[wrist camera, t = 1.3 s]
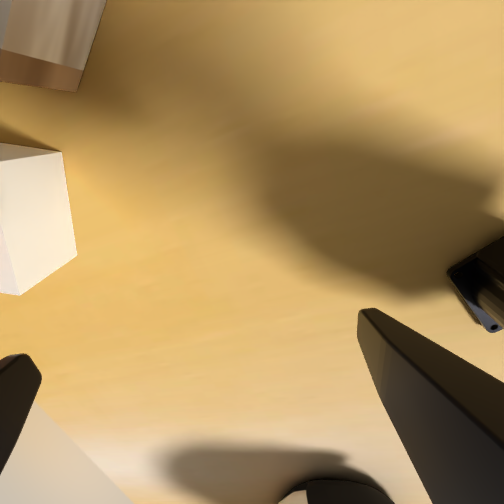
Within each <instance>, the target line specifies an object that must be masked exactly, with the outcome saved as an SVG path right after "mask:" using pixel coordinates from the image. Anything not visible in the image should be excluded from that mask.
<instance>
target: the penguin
mask: <svg viewBox="0 0 504 504" xmlns="http://www.w3.org/2000/svg"><path fill="white" fill-rule="evenodd" d="M278 504H395V503H394V502H393V501H391V500H390V499H389V498H388V497H387V496H385V495H384V494H382V493H381V492H379V491H378V490H377V489H375V488H372V487H369V486H366V485H364V484H360V483H355V482H351V481H334V480H322V479H321V480H315V481H309V482H306V483H303V484H301V485H298V486H295V487H294V488H293V489H292V490H291V491H290V492H289V493H287V494H286V496H285V497H284V498H283V499H282V500H281V502H279V503H278Z"/></svg>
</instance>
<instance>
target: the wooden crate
mask: <svg viewBox="0 0 504 504" xmlns="http://www.w3.org/2000/svg"><path fill="white" fill-rule="evenodd" d="M106 1H107V0H0V81H1V82H8V83H15V84H22V85H29V86H36V87H43V88H50V89H57V90H64V91H71V92H77V89H78V86H79V83H80V80H81V77H82V74H83V71H84V68H85V65H86V62H87V59H88V56H89V53H90V49H91V46H92V43H93V40H94V37H95V34H96V31H97V28H98V25H99V22H100V19H101V16H102V13H103V10H104V7H105V4H106Z"/></svg>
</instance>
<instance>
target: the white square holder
mask: <svg viewBox="0 0 504 504" xmlns="http://www.w3.org/2000/svg"><path fill="white" fill-rule="evenodd" d="M76 256H77V250H76V243H75V237H74V230H73V224H72V217H71V210H70V204H69V197H68V190H67V184H66V177H65V171H64V164H63V157H62V152H58V151H52V150H45V149H39V148H32V147H26V146H19V145H13V144H6V143H0V293H7V294H13V295H22V294H23V293H24V292H26V291H27V290H29V289H30V288H32V287H33V286H34V285H36V284H37V283H39V282H40V281H42V280H43V279H44V278H46V277H47V276H49V275H50V274H51V273H53V272H54V271H56V270H57V269H59V268H60V267H61V266H63V265H64V264H66V263H67V262H69V261H70V260H71V259H73V258H74V257H76Z"/></svg>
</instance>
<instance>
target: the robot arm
mask: <svg viewBox="0 0 504 504" xmlns="http://www.w3.org/2000/svg"><path fill="white" fill-rule="evenodd" d="M457 272H459V273H458V274H457V275H455V274H456V273H457ZM454 275H455V276H454ZM447 277H448V278H449V279H450V281H451V282H452V284H453V285H454V286H455V288H456V289H457V291H458V292H459V294H460V295H461V296H462V298H463V299H464V301H465V302H466V303H467V305H468V306H469V308H470V309H471V310H472V312H473V313H474V315H475V316H476V317H477V319H478V320H479V322H480V323H481V325H482V326H483V327H484V328H485V329H486V330H487V331H488V332H490V333H495V332H498V331H500V330H502V329H504V237H502V238H500V239H499V240H497V241H495V242H493V243H492V244H490V245H488V246H487V247H485V248H483V249H482V250H480V251H478V252H476V253H475V254H473V255H471V256H470V257H468V258H466V259H464V260H463V261H461V262H459V263H458V264H456V265H454V266H452V267H451V268H450V269H448V271H447ZM357 338H358V342H359V344H360V347H361V350H362V352H363V355H364V358H365V360H366V363H367V366H368V368H369V371H370V374H371V376H372V379H373V382H374V384H375V387H376V389H377V392H378V394H379V397H380V399H381V401H382V403H383V405H384V407H385V409H386V411H387V413H388V415H389V417H390V419H391V421H392V423H393V425H394V427H395V429H396V431H397V433H398V435H399V437H400V439H401V441H402V443H403V445H404V447H405V449H406V451H407V453H408V455H409V457H410V459H411V461H412V463H413V465H414V467H415V469H416V471H417V473H418V475H419V477H420V479H421V481H422V483H423V485H424V487H425V489H426V491H427V493H428V495H429V497H430V499H431V501H432V503H433V504H504V383H503V382H501V381H500V380H498V379H496V378H495V377H493V376H491V375H489V374H488V373H486V372H484V371H483V370H481V369H479V368H477V367H476V366H474V365H472V364H471V363H469V362H467V361H465V360H464V359H462V358H460V357H459V356H457V355H455V354H454V353H452V352H450V351H448V350H447V349H445V348H443V347H442V346H440V345H438V344H436V343H435V342H433V341H431V340H430V339H428V338H426V337H424V336H423V335H421V334H419V333H418V332H416V331H414V330H412V329H411V328H409V327H407V326H406V325H404V324H402V323H400V322H399V321H397V320H395V319H394V318H392V317H390V316H388V315H387V314H385V313H383V312H382V311H380V310H378V309H376V308H368V309H361V310H360V311H359V313H358V324H357ZM41 380H42V376H41V373H40V371H39V370H38V368H37V367H36V365H35V364H34V362H33V361H32V359H31V358H30V356H29V355H27V354H24V353H22V354H14V355H9V356H6V357H5V358H3V359H1V360H0V474H1V472H2V470H3V469H4V466H5V464H6V463H7V461H8V459H9V457H10V455H11V453H12V451H13V448H14V447H15V444H16V442H17V440H18V438H19V435H20V433H21V431H22V428H23V426H24V423H25V421H26V418H27V416H28V413H29V411H30V409H31V406H32V404H33V401H34V399H35V396H36V394H37V392H38V389H39V387H40V384H41Z"/></svg>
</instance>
